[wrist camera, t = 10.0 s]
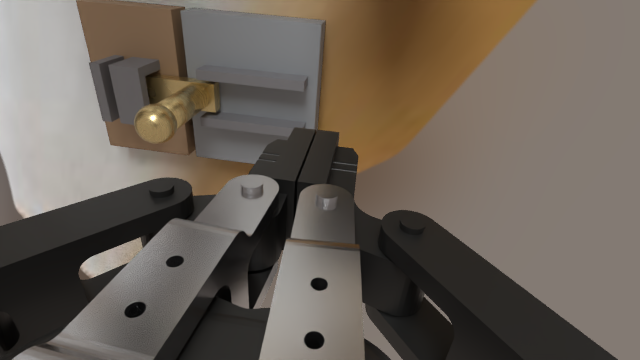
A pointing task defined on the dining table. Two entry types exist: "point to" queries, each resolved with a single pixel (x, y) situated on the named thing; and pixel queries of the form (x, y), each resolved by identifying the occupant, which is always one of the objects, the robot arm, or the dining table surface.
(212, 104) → the bolt
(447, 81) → the dining table surface
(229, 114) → the door edge model
